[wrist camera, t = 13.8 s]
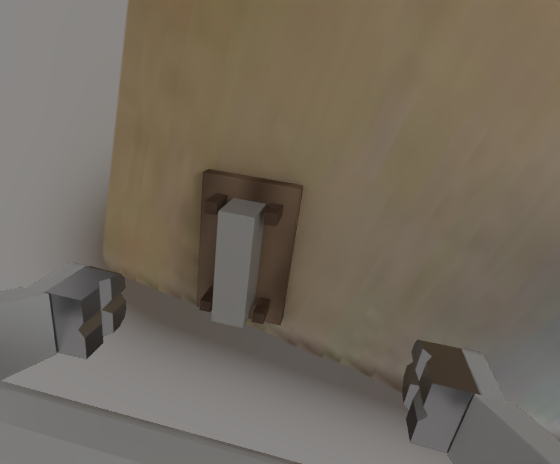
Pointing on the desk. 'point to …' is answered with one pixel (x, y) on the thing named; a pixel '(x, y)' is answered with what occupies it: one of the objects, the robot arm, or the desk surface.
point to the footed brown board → (275, 238)
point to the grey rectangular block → (237, 261)
